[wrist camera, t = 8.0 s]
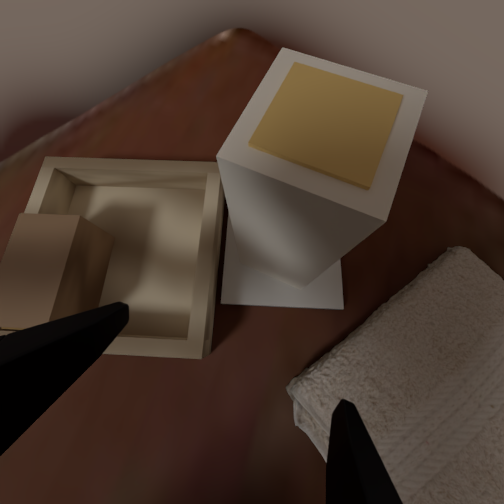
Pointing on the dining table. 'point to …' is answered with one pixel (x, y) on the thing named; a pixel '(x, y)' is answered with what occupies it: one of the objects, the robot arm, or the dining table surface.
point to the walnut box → (52, 269)
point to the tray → (148, 243)
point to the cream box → (314, 164)
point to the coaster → (276, 285)
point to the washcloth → (423, 384)
